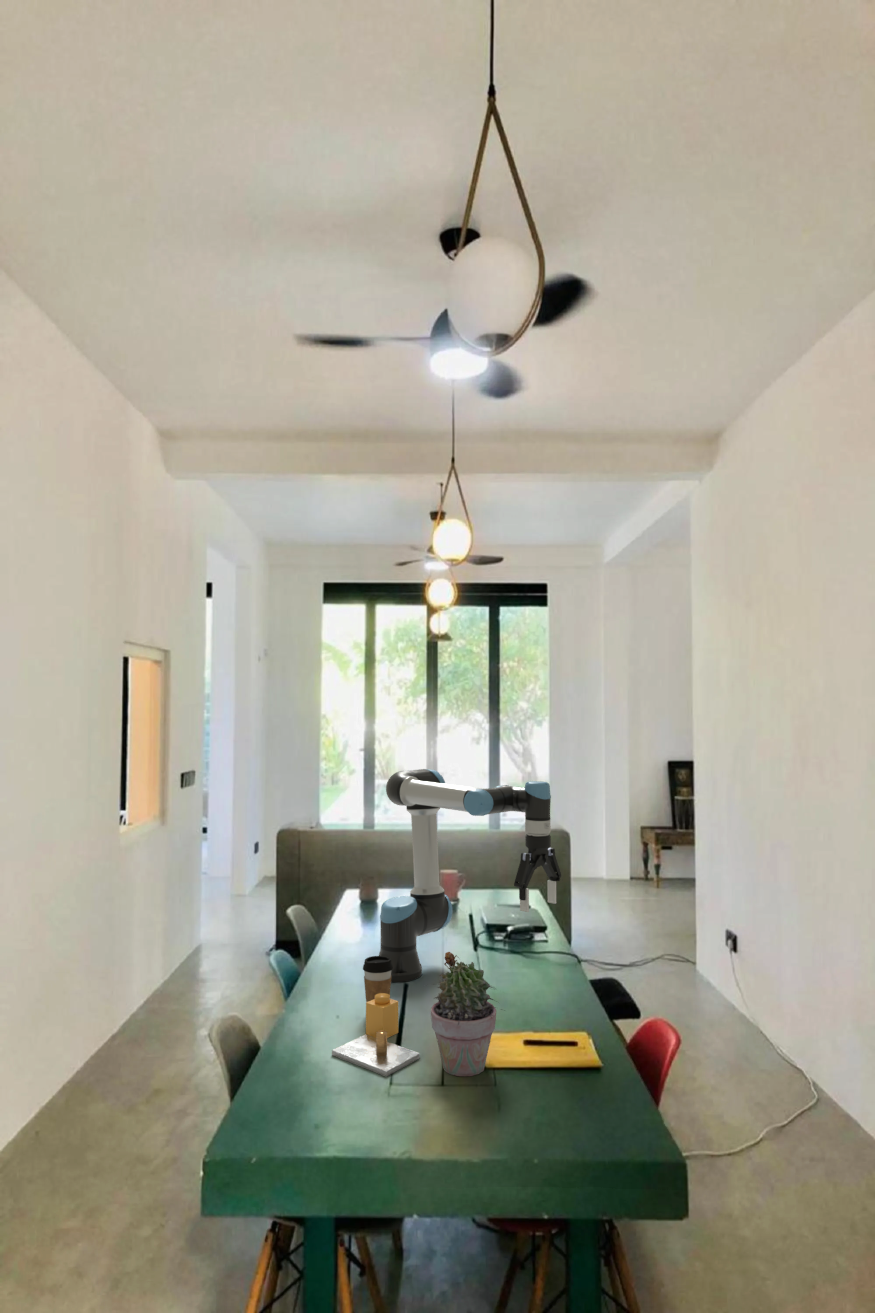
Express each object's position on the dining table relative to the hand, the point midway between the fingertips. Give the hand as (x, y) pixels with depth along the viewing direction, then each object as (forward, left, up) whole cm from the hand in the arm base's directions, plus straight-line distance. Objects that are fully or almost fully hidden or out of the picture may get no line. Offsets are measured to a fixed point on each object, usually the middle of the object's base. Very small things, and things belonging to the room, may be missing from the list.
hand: (538, 907), depth 223 cm
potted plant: (+9, -48, -27) cm, 56 cm away
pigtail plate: (-12, -57, -27) cm, 64 cm away
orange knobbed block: (-20, -46, -27) cm, 57 cm away
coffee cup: (-30, -37, -27) cm, 55 cm away
